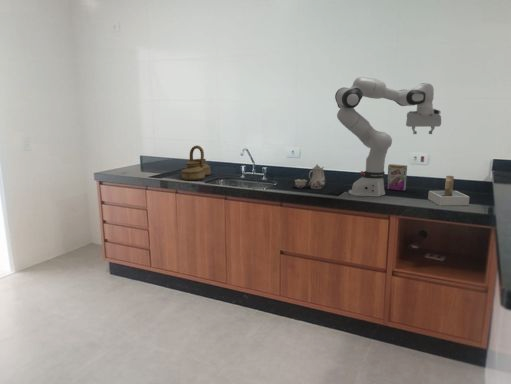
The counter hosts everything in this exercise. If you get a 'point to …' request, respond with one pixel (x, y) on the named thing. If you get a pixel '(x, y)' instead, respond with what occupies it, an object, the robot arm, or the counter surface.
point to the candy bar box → (397, 177)
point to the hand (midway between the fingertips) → (422, 134)
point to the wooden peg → (449, 185)
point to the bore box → (448, 198)
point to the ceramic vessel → (195, 167)
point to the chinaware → (313, 179)
